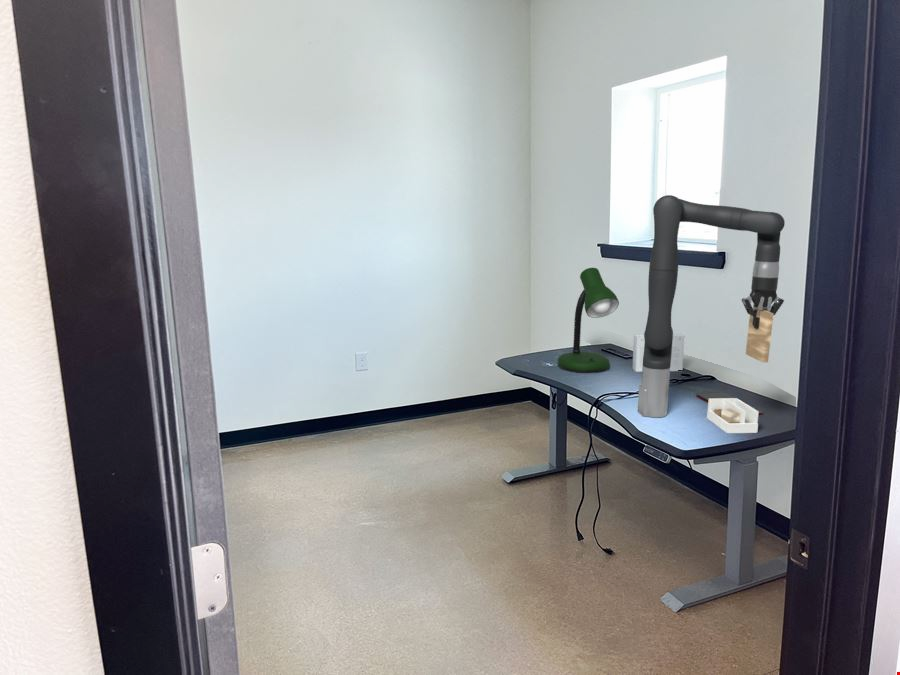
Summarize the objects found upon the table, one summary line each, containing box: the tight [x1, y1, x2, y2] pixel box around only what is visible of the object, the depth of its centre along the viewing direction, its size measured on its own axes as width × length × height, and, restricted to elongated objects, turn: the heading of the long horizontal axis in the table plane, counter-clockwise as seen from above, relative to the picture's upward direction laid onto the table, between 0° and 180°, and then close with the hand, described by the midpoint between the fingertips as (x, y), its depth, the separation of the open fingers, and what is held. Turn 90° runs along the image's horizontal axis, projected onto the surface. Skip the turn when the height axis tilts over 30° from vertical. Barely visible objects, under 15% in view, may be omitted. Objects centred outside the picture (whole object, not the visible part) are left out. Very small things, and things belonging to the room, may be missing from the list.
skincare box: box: [632, 333, 685, 373], centre depth 287 cm, size 21×5×16 cm, turn 92°
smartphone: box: [695, 391, 765, 416], centre depth 240 cm, size 12×2×25 cm
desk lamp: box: [557, 267, 620, 374], centre depth 286 cm, size 31×23×45 cm
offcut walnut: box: [714, 409, 722, 417], centre depth 222 cm, size 3×3×4 cm
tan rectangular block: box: [745, 306, 774, 363], centre depth 214 cm, size 2×11×16 cm, turn 3°
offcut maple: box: [721, 408, 740, 423], centre depth 215 cm, size 3×5×3 cm
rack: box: [706, 397, 759, 434], centre depth 218 cm, size 10×15×7 cm, turn 3°
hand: (759, 327), depth 213 cm, fingers closed on tan rectangular block, 2 cm apart
